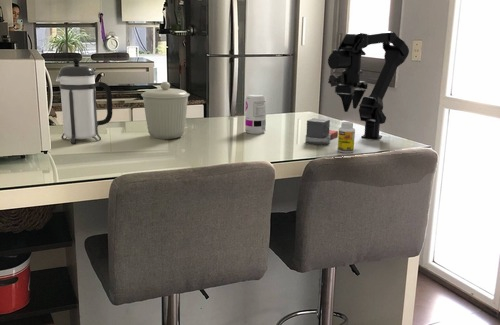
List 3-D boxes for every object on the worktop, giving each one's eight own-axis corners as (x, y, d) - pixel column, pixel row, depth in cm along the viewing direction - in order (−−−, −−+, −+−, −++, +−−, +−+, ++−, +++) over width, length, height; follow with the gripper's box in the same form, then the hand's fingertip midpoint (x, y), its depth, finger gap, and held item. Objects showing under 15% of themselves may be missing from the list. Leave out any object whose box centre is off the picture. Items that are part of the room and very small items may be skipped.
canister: (132, 138, 207) (130, 82, 201) (161, 130, 222) (160, 78, 217) (171, 143, 199) (170, 85, 193) (199, 135, 214) (198, 81, 209)
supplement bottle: (335, 152, 190) (336, 123, 187) (340, 149, 194) (342, 120, 192) (350, 154, 187) (352, 124, 184) (355, 150, 192) (357, 122, 189)
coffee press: (93, 145, 194) (88, 59, 186) (52, 143, 197) (45, 58, 189) (114, 136, 210) (110, 56, 203) (76, 133, 213) (71, 55, 206)
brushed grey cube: (313, 133, 208) (314, 118, 206) (329, 135, 205) (329, 119, 203) (306, 136, 202) (307, 120, 201) (322, 138, 199) (323, 122, 198)
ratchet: (322, 134, 220) (323, 120, 218) (344, 136, 215) (344, 123, 214) (301, 143, 202) (301, 128, 201) (323, 146, 198) (324, 131, 197)
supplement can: (243, 133, 218) (243, 96, 215) (248, 129, 226) (248, 93, 223) (262, 134, 217) (263, 97, 213) (267, 131, 224) (268, 94, 221)
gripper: (341, 65, 212) (339, 105, 216) (322, 68, 197) (320, 111, 200) (369, 66, 207) (366, 107, 211) (351, 70, 191) (349, 114, 195)
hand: (350, 110), depth 204 cm, fingers open, 9 cm apart
